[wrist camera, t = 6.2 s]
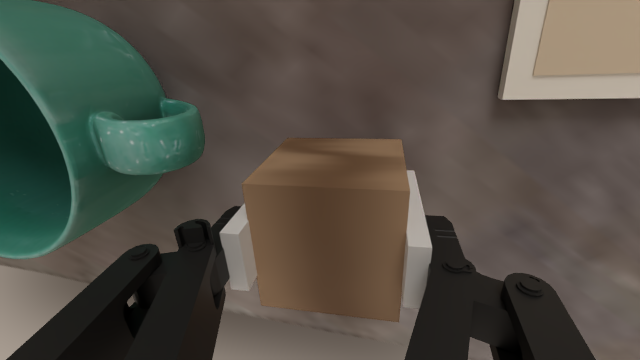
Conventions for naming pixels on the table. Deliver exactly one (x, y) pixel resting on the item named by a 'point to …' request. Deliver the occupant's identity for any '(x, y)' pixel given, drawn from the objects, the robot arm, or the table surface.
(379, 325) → the table surface
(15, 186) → the mug
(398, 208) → the walnut cube
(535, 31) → the coaster
